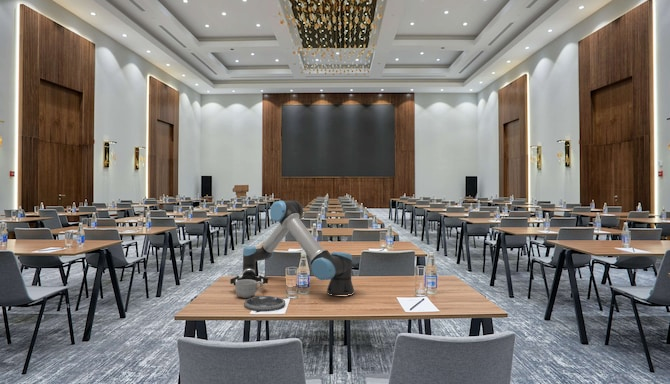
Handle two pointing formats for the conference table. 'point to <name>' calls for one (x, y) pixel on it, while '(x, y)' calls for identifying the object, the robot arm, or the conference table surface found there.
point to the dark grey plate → (264, 303)
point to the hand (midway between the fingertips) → (249, 284)
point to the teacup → (247, 287)
